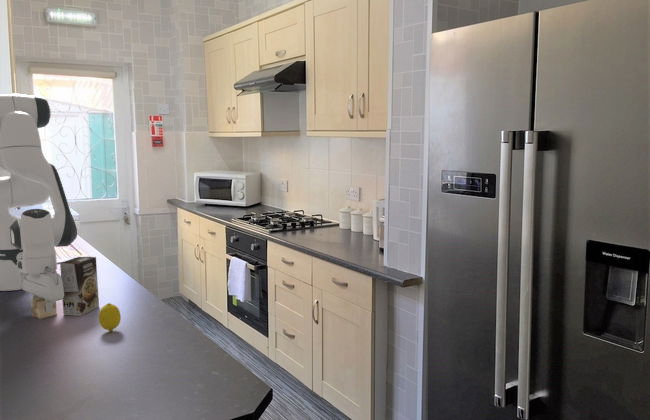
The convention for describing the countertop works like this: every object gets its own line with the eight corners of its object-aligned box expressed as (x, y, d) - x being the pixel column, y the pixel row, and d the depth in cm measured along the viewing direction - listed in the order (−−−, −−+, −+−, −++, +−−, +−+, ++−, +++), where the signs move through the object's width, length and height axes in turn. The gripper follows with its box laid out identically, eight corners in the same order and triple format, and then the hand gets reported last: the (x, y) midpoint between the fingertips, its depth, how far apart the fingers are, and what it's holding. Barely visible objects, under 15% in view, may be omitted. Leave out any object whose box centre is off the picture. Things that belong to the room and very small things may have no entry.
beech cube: (31, 315, 164) (30, 299, 163) (48, 311, 168) (47, 295, 167) (39, 319, 161) (38, 302, 160) (56, 314, 165) (55, 298, 164)
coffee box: (82, 316, 163) (78, 263, 161) (62, 315, 164) (58, 262, 162) (100, 306, 172) (96, 256, 170) (81, 305, 173) (78, 255, 171)
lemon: (125, 329, 153) (124, 301, 151) (112, 336, 147) (110, 307, 146) (109, 326, 154) (107, 299, 153) (95, 333, 149) (93, 305, 148)
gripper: (68, 267, 158) (71, 314, 160) (35, 257, 171) (39, 300, 173) (45, 272, 153) (49, 320, 155) (14, 261, 166) (17, 305, 168)
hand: (43, 309), depth 164 cm, fingers closed on beech cube, 5 cm apart
